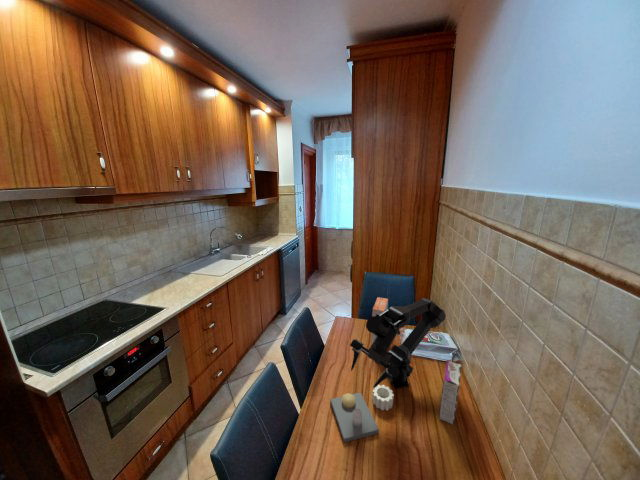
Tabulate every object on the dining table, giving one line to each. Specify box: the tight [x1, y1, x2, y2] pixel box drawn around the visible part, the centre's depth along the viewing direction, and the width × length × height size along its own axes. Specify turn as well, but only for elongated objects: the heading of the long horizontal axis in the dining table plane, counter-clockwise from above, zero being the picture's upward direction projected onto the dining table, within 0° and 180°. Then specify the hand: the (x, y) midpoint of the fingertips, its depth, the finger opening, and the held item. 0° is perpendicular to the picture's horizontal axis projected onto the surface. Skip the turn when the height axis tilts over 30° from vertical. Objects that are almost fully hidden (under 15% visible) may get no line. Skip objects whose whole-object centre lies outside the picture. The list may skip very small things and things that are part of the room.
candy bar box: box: [438, 359, 462, 426], centre depth 87 cm, size 11×5×16 cm, turn 148°
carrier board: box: [330, 392, 380, 443], centre depth 86 cm, size 12×15×6 cm
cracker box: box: [370, 296, 389, 346], centre depth 126 cm, size 14×6×21 cm, turn 157°
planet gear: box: [371, 384, 395, 411], centre depth 92 cm, size 8×8×4 cm
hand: (362, 378), depth 89 cm, fingers open, 9 cm apart
